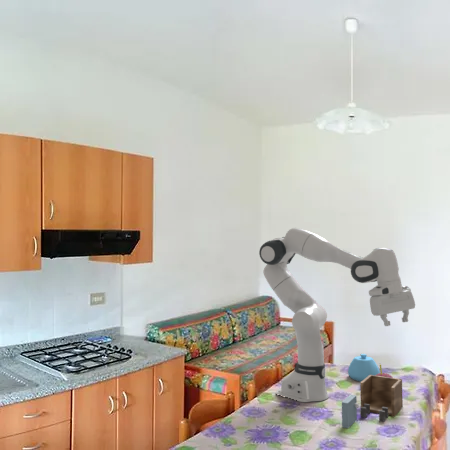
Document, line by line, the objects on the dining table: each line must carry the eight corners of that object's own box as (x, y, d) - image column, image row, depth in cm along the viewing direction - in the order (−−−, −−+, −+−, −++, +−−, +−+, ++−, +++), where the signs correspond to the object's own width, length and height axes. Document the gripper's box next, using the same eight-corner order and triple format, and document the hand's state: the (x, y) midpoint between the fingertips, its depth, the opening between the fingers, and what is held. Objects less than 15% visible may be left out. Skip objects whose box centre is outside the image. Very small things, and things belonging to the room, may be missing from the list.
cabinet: (355, 415, 185) (355, 386, 186) (370, 401, 202) (369, 374, 202) (390, 422, 178) (389, 392, 179) (402, 406, 195) (402, 379, 195)
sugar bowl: (357, 383, 226) (357, 359, 227) (342, 375, 241) (342, 351, 241) (386, 381, 230) (385, 356, 230) (369, 372, 244) (369, 349, 245)
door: (351, 429, 173) (350, 403, 173) (342, 427, 175) (341, 402, 175) (360, 420, 181) (359, 396, 181) (351, 418, 183) (350, 394, 183)
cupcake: (383, 393, 212) (383, 365, 212) (369, 388, 219) (369, 361, 220) (398, 390, 216) (397, 363, 216) (383, 385, 223) (383, 359, 224)
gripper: (403, 285, 196) (409, 319, 195) (365, 292, 187) (371, 328, 185) (415, 284, 191) (422, 319, 189) (376, 291, 181) (383, 328, 180)
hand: (396, 323), depth 187 cm, fingers open, 8 cm apart
